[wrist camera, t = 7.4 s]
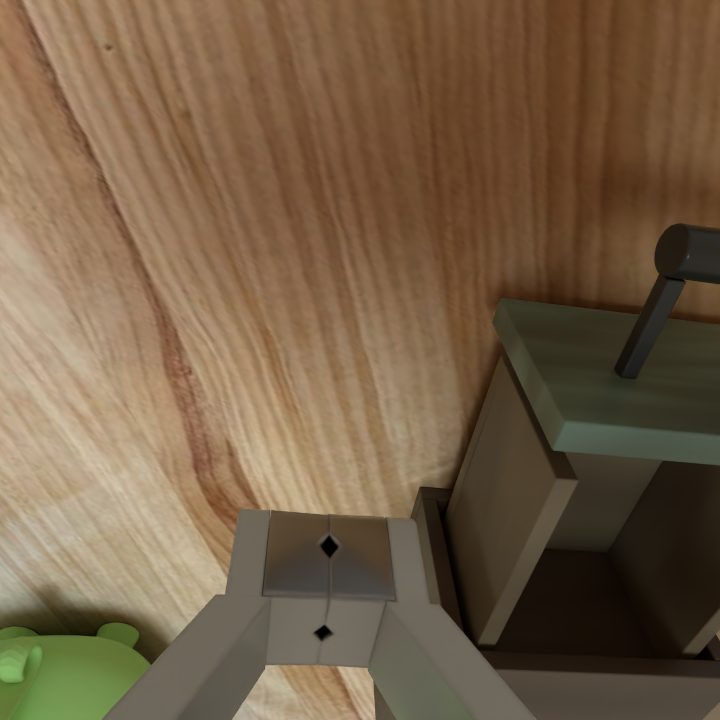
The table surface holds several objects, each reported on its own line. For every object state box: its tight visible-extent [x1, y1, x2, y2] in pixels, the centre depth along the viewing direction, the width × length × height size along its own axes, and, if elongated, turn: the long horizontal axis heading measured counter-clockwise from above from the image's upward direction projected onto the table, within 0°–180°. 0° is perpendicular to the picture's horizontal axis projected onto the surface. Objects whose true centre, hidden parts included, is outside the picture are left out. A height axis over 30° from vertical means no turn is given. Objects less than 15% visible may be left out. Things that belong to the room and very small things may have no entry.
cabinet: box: [373, 488, 720, 720], centre depth 32 cm, size 16×13×10 cm
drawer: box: [442, 223, 720, 660], centre depth 23 cm, size 20×11×8 cm, turn 171°
